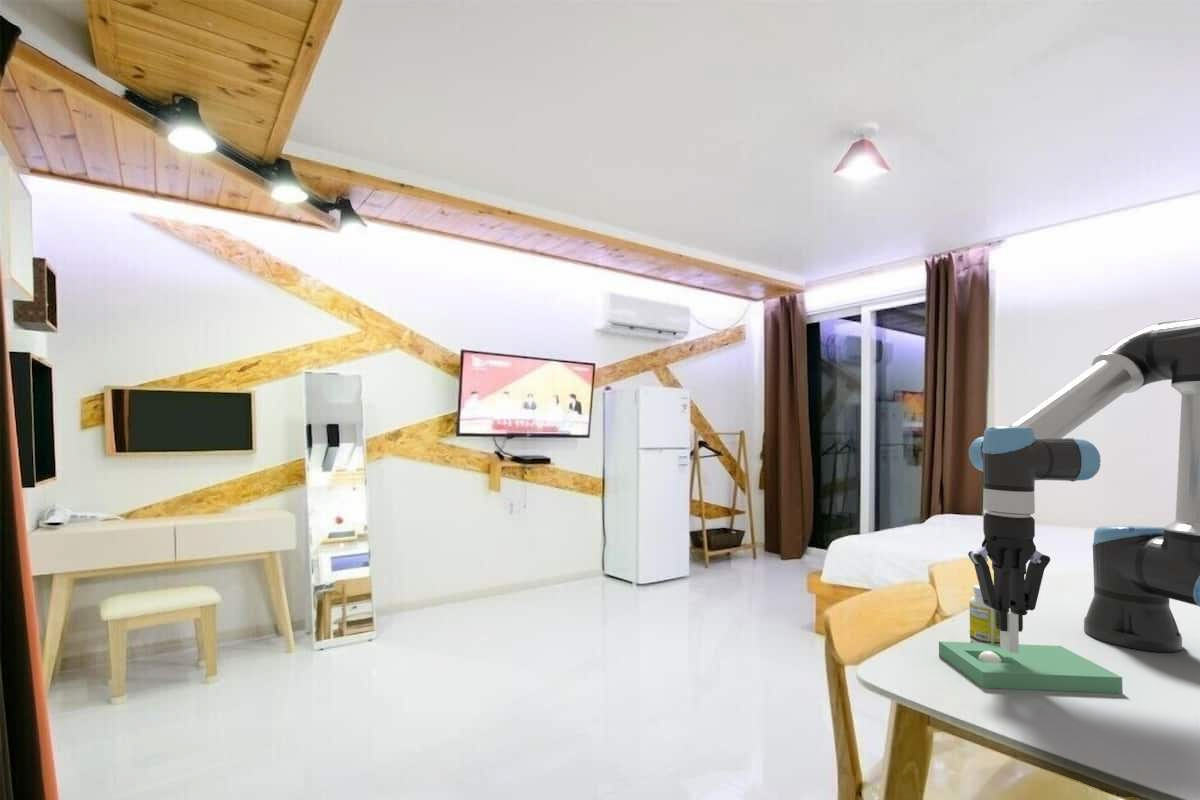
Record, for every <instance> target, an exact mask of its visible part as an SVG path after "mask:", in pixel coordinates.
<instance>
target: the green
mask: <svg viewBox="0 0 1200 800" xmlns="http://www.w3.org/2000/svg"><path fill="white" fill-rule="evenodd" d="M984 651H992V652H994V653H996V654H997V655H998V656H999V657H1000V659H1001V661H1002V663H982V662H980V661H979V660H978V657H979V655H980V654H981V653H982V652H984ZM938 656H939V657H941V658H942V659H943V660H945V661H946V662H947V663H949V664H950V665H952V666H953V667H955V669H957V670H959V671H960V672H961V673H963V674H964V675H965V676H966V677H968V678H969V679H970V680H972V681H973V682H974V683H976V684H977V685H978V686H980V687H981V688H984V689H1007V690H1032V691H1034V690H1035V691H1053V692H1055V691H1056V692H1057V691H1061V692H1080V693H1081V692H1082V693H1085V692H1086V693H1104V694H1105V693H1110V694H1123V677H1122V676H1120V675H1118V674H1117V673H1114V672H1113V671H1110V670H1108V669H1107V668H1104V667H1103V666H1101V665H1099V664H1097V663H1095V662H1093V661H1091V660H1089V659H1087V658H1085V657H1083V656H1081V655H1079V654H1077V653H1076V652H1073V651H1072V650H1070V649H1068V648H1065V647H1063V646H1061V645H1048V644H1047V645H1045V644H1019V653H1014V652H1008V651H1007V650H1005V649H1003V648H1002V647H1000V644H995V643H973V642H962V641H960V642H959V641H938Z"/></svg>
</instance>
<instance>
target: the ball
mask: <svg viewBox="0 0 1200 800" xmlns="http://www.w3.org/2000/svg"><path fill="white" fill-rule="evenodd" d="M978 660H979V661H980V662H982V663H1002V661H1001V659H1000V657H999V656H998V655H997V654H996V653H994V652H992V651H984V652H982V653H981V654H980V655H979V657H978Z"/></svg>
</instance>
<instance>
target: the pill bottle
mask: <svg viewBox="0 0 1200 800" xmlns="http://www.w3.org/2000/svg"><path fill="white" fill-rule="evenodd" d="M973 594H974V596H972V597H970V599H969V638H970V639H969V640H970V641H971V643H995V644H1000V630H999V629H997V628H996V612H995V609H993V608H991V607H989V606H987V605H985V604H984V602H983V598H982V594H981V590H980V586H979V584H975V585H973Z"/></svg>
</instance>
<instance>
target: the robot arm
mask: <svg viewBox="0 0 1200 800" xmlns="http://www.w3.org/2000/svg"><path fill="white" fill-rule="evenodd" d="M1168 380H1170V381H1171V383H1170V385H1171V387H1172V388H1173V389H1174V390H1175V391H1177V392H1178V393H1180V395H1181V401H1180V402H1181V403H1180V420H1179V421H1180V425H1179V441H1178V463H1177V465H1178V466H1177V483H1176V502H1175V504H1176V507H1175V508H1176V509H1175V519H1174V521H1172V522H1171V523H1169V524H1168V525H1166V526H1165V527H1162V526H1143V525H1142V526H1141V525H1102V526H1098V527H1097V528H1096V529H1095V530H1094V532H1093V543H1092V560H1093V561H1092V562H1093V566H1092V567H1093V597H1092V600H1091V602H1090V605H1089V607H1088V610H1087V613H1086V616H1085V617H1084V618H1083V631H1084V633H1085V634H1087V635H1088V636H1090V637H1092V638H1094V639H1098V640H1100V641H1103V642H1106V643H1108V644H1112V645H1117V646H1120V647H1121V646H1122V647H1125V648H1129V649H1134V650H1140V651H1147V652H1157V653H1158V652H1159V653H1176V652H1180V651H1182V650H1183V637H1182V634H1181V633H1180V631H1179V627H1178V624H1177V622H1176V620H1175V617H1174V614H1173V613H1172V609H1171V606H1170V600H1174V601H1178V602H1182V603H1186V604H1190V605H1193V606H1197V607H1200V316H1196V317H1190V318H1185V319H1179V320H1172V321H1171V320H1170V321H1164V322H1163V321H1162V322H1158V323H1155V324H1151V325H1149V326H1146V327H1144V328H1141V329H1139V330H1137V331H1135V332H1132V333H1131V334H1130V335H1128V336H1126V337H1124V338H1123V339H1121V340H1119V341H1118V342H1115V344H1113V345H1111V346H1110V347H1108V348H1107V349H1105V350H1103V351H1102V352H1101V353H1100V354H1098V355H1097V356H1095V358H1094V359H1093V360H1092V362H1091V367H1090V368H1088V369H1086V370H1085V371H1084V372H1082V373H1081V374H1080V375H1078V376H1077V377H1075V378H1074V379H1072V380H1071V381H1070V382H1069V383H1067V384H1066V385H1064V386H1063V387H1062V388H1060V389H1059V390H1057V391H1056V392H1055V393H1053V394H1052V395H1050V396H1049V397H1048V398H1046V399H1045V400H1044V401H1042V402H1041V403H1039V404H1038V405H1036V406H1035V407H1033V408H1032V409H1031V410H1030V411H1028V412H1026V413H1025V414H1024V415H1023V416H1022V417H1020V418H1019V419H1016V421H1015V422H1013V423H1011V424H1010V425H1009V426H988V427H987V428H985V429H984V432H983V436H980V437H977V438H975V439H974V440H973V441H972V443H971V444H970V445H969V449H968V457H969V461H970V463H971V464H972V466H973V467H974V468H975V469H976V470H979V471H980V472H982V476H983V478H982V479H983V480H982V481H983V482H982V483H983V485H982V486H983V490H982V491H983V492H982V493H983V494H982V495H983V496H982V497H983V498H982V499H983V510H984V511H987V512H985V513H984V514H983V516H982V517H983V518H982V519H983V520H982V523H983V526H982V529H983V530H982V531H983V535H984V538H983V540H982V542H981V548H978V549H977V550H974V551H973V550H970V551H969V552H968V553H967V555H968V557H969V559H970V561H971V562H972V563H973V565H974V570H975V572H976V578H977V582H978V585H979V586H980V590H981V594H982V598H983V602H984V604H985V605H987V606H989V607H991V608H993V609H995V612H996V628H997V629H999V630H1000V647H1002V648H1003V649H1005V650H1007V651H1008V652H1014V653H1019V633H1021V632H1023V629H1024V626H1023V625H1024V623H1023V622H1024V618H1023V617H1024V616H1026V615H1028V611H1034V610H1035V609H1036V606H1037V600H1038V597H1039V593H1040V590H1041V585H1042V581H1043V578H1044V577H1043V576H1044V572H1045V569H1046V568H1047V566H1048V565H1049V563H1050V561H1051V557H1050V556H1048V555H1045V554H1043V553H1042V552H1039V551H1038V550H1037V546H1036V544H1035V543H1034V538H1035V536H1036V532H1035V531H1036V530H1035V529H1036V524H1035V522H1036V521H1035V520H1036V519H1035V518H1034V517H1033V516H1031V515H1034V514H1035V512H1036V503H1035V500H1036V499H1035V484H1036V483H1035V482H1036V481H1065V482H1067V481H1068V482H1072V483H1074V482H1077V481H1087V480H1090V479H1092V478H1093V477H1095V476H1096V475H1097V474H1098V472H1099V471H1100V468H1101V462H1102V461H1101V455H1100V451H1099V450H1098V448H1097V447H1096V446H1095V445H1094V444H1093V443H1091V442H1090V441H1088V440H1087V439H1080V438H1073V437H1072V438H1070V437H1069V438H1068V437H1066V436H1067V435H1068V434H1070V433H1071V432H1073V431H1074V430H1075V429H1076V428H1078V427H1079V426H1081V425H1082V424H1083V423H1085V422H1086V421H1087V420H1089V419H1091V418H1092V417H1093V416H1095V414H1097V413H1099V412H1100V411H1101V410H1103V409H1104V408H1106V407H1107V406H1108V405H1110V404H1111V403H1112V402H1114V401H1115V400H1117V399H1118V398H1119V397H1120V396H1122V395H1124V394H1132V393H1135V392H1137V391H1139V390H1140V389H1141V388H1143V387H1144V386H1146V385H1149V384H1152V383H1153V384H1154V383H1156V382H1161V381H1168ZM1064 437H1066V438H1064ZM989 559H990V561H991V568H992V571H993V577H992V574H991V573H992V572H991V570H990V566H989V564H988V561H989ZM1027 563H1028V564H1027Z"/></svg>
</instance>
